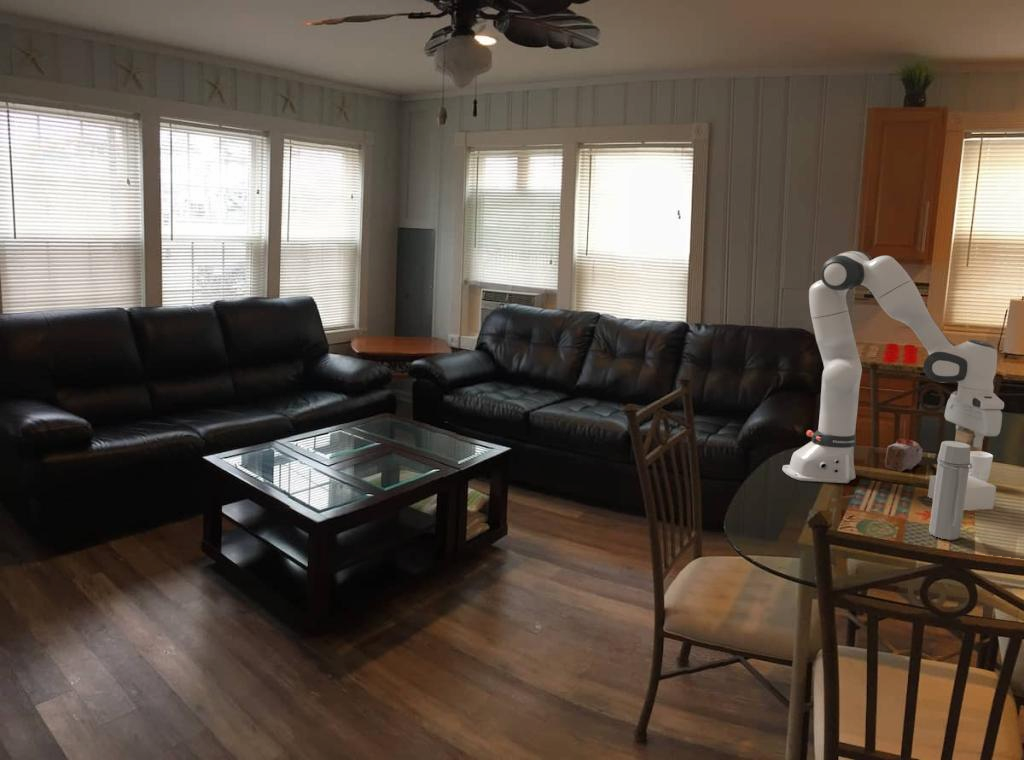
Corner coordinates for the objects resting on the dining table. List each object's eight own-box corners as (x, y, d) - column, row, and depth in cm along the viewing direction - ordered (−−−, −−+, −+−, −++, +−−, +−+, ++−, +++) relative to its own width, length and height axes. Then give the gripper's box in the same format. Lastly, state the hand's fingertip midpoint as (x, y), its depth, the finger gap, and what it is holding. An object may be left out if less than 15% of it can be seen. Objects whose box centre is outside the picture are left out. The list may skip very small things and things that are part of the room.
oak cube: (964, 451, 228) (967, 434, 227) (954, 446, 233) (956, 429, 232) (981, 451, 228) (983, 434, 227) (970, 446, 233) (972, 429, 232)
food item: (898, 460, 276) (901, 433, 274) (922, 466, 270) (926, 438, 268) (881, 468, 266) (885, 439, 264) (906, 473, 261) (910, 444, 259)
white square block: (957, 511, 226) (961, 488, 225) (927, 497, 238) (930, 475, 237) (993, 509, 229) (996, 486, 228) (961, 495, 241) (964, 473, 239)
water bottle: (922, 530, 211) (934, 439, 207) (953, 531, 211) (965, 441, 206) (937, 543, 202) (949, 449, 198) (969, 545, 202) (982, 450, 197)
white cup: (992, 489, 247) (997, 458, 245) (965, 486, 248) (969, 456, 246) (983, 481, 254) (987, 451, 252) (956, 479, 256) (960, 449, 254)
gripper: (942, 389, 237) (936, 434, 240) (986, 404, 217) (980, 453, 220) (962, 389, 238) (956, 434, 240) (1008, 404, 218) (1001, 453, 220)
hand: (968, 443), depth 230 cm, fingers closed on oak cube, 5 cm apart
